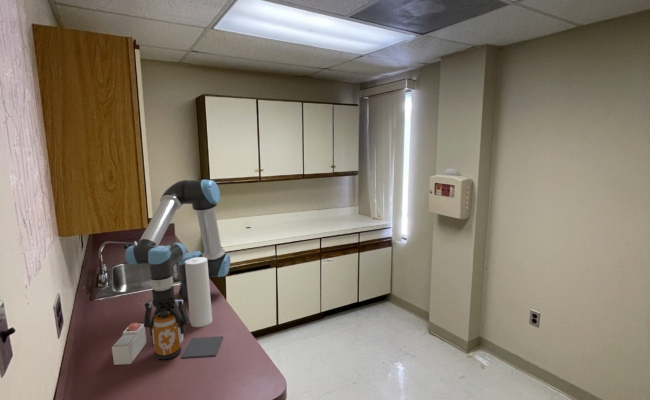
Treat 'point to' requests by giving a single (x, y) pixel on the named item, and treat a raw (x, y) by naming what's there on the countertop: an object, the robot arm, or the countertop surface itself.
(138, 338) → the white rectangular box
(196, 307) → the cylinder container
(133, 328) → the salmon pink capsule
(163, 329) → the canister
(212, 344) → the drip mat
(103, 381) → the countertop surface
